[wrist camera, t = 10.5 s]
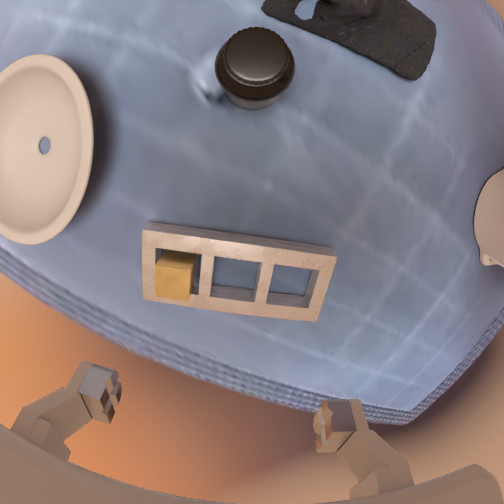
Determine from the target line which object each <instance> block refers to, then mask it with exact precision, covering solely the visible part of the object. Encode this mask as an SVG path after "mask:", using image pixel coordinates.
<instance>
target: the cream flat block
mask: <svg viewBox="0 0 504 504" xmlns="http://www.w3.org/2000/svg"><path fill="white" fill-rule="evenodd" d="M162 249H169V250H176V251H183V252H190V253H197V254H202V260H201V271H200V283H198V282H195V283H194V286H193V290H192V293H191V296H190V300H189V302H188V301H182V300H175V299H169V298H163V297H157V296H155V265H156V263H157V262H158V260H159V258H160V257H161V255H162ZM215 256H219V257H226V258H233V259H240V260H247V261H255V262H259V266H258V271H257V277H256V282H255V287H254V290H249V289H242V288H234V287H227V286H219V285H212V281H213V272H214V263H215ZM336 260H337V256H336V255H335V253H334V251H333V250H332V248H331V247H326V246H319V245H313V244H306V243H300V242H293V241H286V240H280V239H273V238H266V237H259V236H252V235H245V234H238V233H231V232H224V231H217V230H210V229H203V228H195V227H188V226H180V225H173V224H165V223H157V222H149V223H148V224H147V225H146V226H145V227H144V228H143V229H142V282H143V299H145V300H151V301H157V302H162V303H168V304H174V305H181V306H187V307H194V308H200V309H207V310H214V311H222V312H229V313H237V314H245V315H254V316H262V317H272V318H281V319H291V320H302V321H314V322H316V321H317V319H318V316H319V313H320V310H321V307H322V304H323V301H324V298H325V295H326V292H327V289H328V286H329V282H330V279H331V276H332V273H333V270H334V266H335V263H336ZM274 264H277V265H284V266H292V267H299V268H307V269H312V271H311V274H310V278H309V282H308V285H307V289H306V292H305V295H304V296H300V295H291V294H282V293H274V292H268V291H269V286H270V282H271V277H272V273H273V268H274Z"/></svg>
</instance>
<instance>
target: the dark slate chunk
mask: <svg viewBox="0 0 504 504" xmlns="http://www.w3.org/2000/svg"><path fill="white" fill-rule="evenodd" d="M300 1H302V0H266V1H265V2H264V3H263V6H262V8H261V9H262V10H263V11H264V12H265V13H266V14H267V15H269V16H273V17H277V18H278V19H280V20H282V21H286V22H290V23H292V24H294V25H297V26H299V27H302V28H304V29H307V30H309V31H311V32H313V33H315V34H320V35H321V36H322V37H325V38H327V39H331V40H332V41H334V42H339V43H340V44H342V45H343V46H347V47H349V48H351V49H353V50H354V51H356V52H358V53H360V54H363V55H365V56H367V55H368V56H369V57H370V58H371V59H373V60H375V61H377V62H380V63H382V64H384V65H385V66H388V67H390V68H392V69H394V70H395V71H396V72H397V73H398V74H400V75H401V76H403V77H405V78H408V79H410V80H413V81H415V80H417V79H418V78H420V77H421V76H422V75H423V73H424V72H425V71H426V68H427V65H428V64H429V62H430V59H431V56H432V53H433V50H434V43H435V38H436V28H435V27H436V25H435V23H434V22H433V21H431V20H430V19H429V18H428V17H427V16H426V15H425V14H423V13H422V12H421V11H420V10H418V9H417V8H415V7H414V6H412V5H411V3H410V2H408V1H407V0H319V1H317V3H316V6H315V10H314V15H313V17H312V19H308V20H302V19H300V18H299V17H298V16H297V15H295V8H296V7H297V5H298V3H299V2H300Z"/></svg>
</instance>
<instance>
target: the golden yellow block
mask: <svg viewBox="0 0 504 504" xmlns="http://www.w3.org/2000/svg"><path fill="white" fill-rule="evenodd" d="M197 266H198V254H197V253H190V252H183V251H176V250H169V249H165V250H164V252H163V254H162V255H161V257H160V258H159V260H158V262H157V263H156V265H155V296H157V297H163V298H169V299H175V300H182V301H188V302H189V300H190V296H191V293H192V290H193V286H194V283H195V280H196V277H197Z"/></svg>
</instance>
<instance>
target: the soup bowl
mask: <svg viewBox="0 0 504 504" xmlns="http://www.w3.org/2000/svg"><path fill="white" fill-rule="evenodd" d="M43 137H48V138H49V140H50V143H51V146H50V150H49V152H48V153H46V154H43V153H42V152H41V151H40V149H39V144H40V141H41V139H42V138H43ZM93 149H94V129H93V119H92V112H91V107H90V103H89V99H88V96H87V93H86V91H85V88H84V86H83V84H82V82H81V80H80V79H79V77H78V75H77V74H76V73H75V72H74V70H73V69H72V68H71V67H70V66H69V65H68V64H67V63H65V62H64V61H62V60H61V59H59V58H57V57H55V56H51V55H46V54H35V55H30V56H26V57H23V58H21V59H19V60H17V61H15V62H14V63H12V64H11V65H9V66H8V67H7V68H5V69H4V70H3V71H2V72H1V73H0V233H1V234H2V235H3V236H5V237H6V238H8V239H9V240H12V241H14V242H17V243H20V244H25V245H33V244H39V243H43V242H46V241H48V240H50V239H52V238H53V237H55V236H56V235H58V234H59V233H60V232H61V231H62V230H63V229H64V228H65V227H66V226H67V225H68V223H69V222H70V221H71V220H72V218H73V216H74V215H75V213H76V212H77V210H78V208H79V206H80V204H81V201H82V199H83V197H84V194H85V191H86V188H87V185H88V181H89V177H90V172H91V167H92V160H93Z"/></svg>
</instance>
